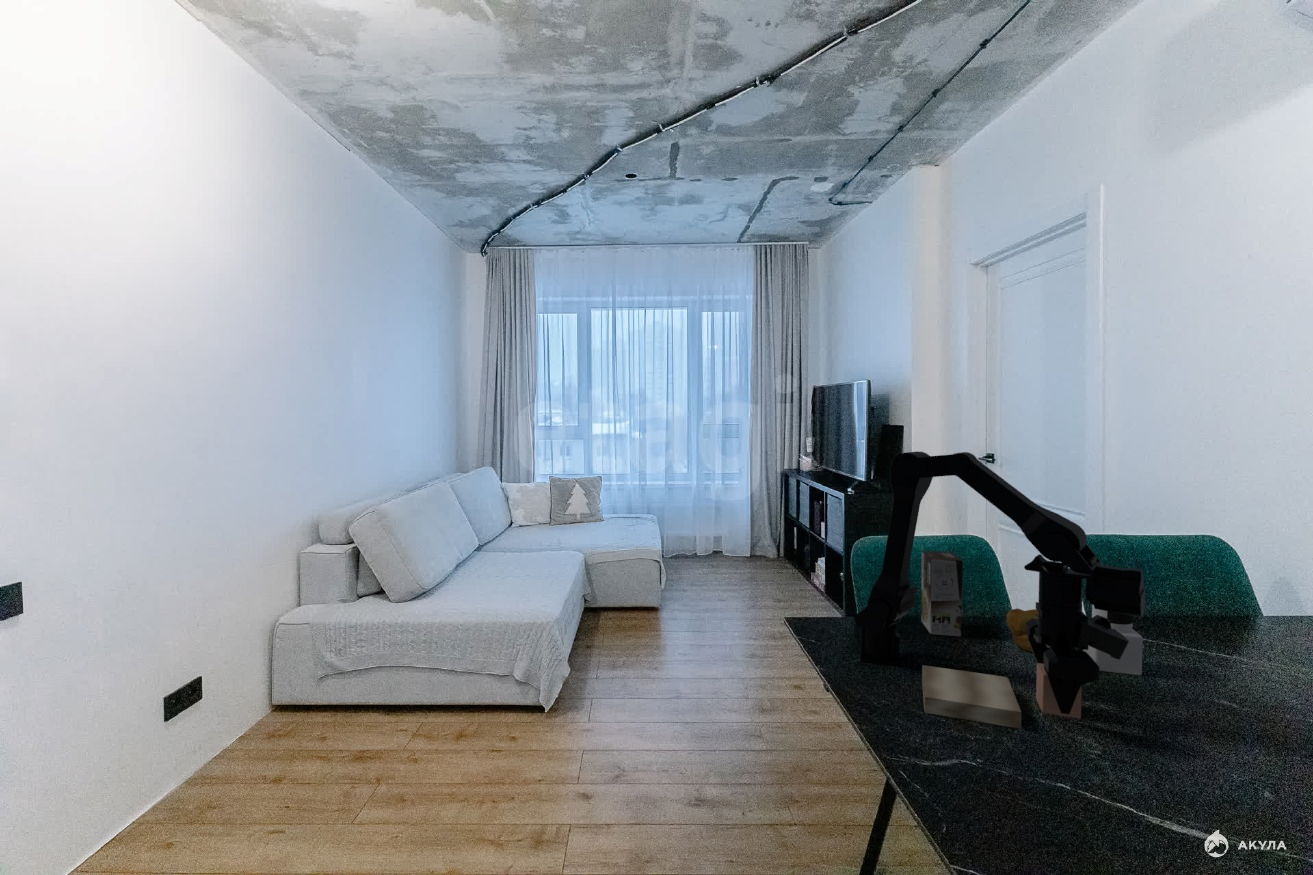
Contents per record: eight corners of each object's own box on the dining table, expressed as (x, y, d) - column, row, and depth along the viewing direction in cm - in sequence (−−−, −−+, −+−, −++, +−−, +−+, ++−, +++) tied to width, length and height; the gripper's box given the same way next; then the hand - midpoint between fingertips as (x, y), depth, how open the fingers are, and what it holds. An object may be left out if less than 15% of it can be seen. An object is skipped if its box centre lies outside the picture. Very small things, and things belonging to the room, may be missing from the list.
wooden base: (924, 712, 94) (924, 696, 94) (922, 679, 106) (922, 665, 106) (1021, 728, 89) (1021, 711, 89) (1006, 691, 101) (1007, 677, 101)
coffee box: (962, 637, 127) (964, 560, 126) (929, 634, 128) (930, 558, 128) (950, 622, 136) (951, 550, 135) (920, 620, 137) (921, 549, 137)
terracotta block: (1042, 712, 94) (1043, 674, 94) (1036, 699, 99) (1036, 662, 99) (1080, 718, 93) (1081, 680, 92) (1072, 704, 97) (1073, 667, 97)
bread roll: (1024, 632, 130) (1025, 595, 129) (1078, 645, 122) (1079, 606, 122) (1002, 647, 121) (1003, 607, 121) (1058, 662, 114) (1059, 620, 114)
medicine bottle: (1126, 661, 114) (1127, 597, 114) (1142, 676, 108) (1144, 609, 107) (1081, 656, 117) (1083, 594, 116) (1094, 670, 110) (1096, 605, 110)
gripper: (1145, 628, 84) (1142, 739, 84) (1103, 591, 101) (1101, 684, 101) (1050, 617, 88) (1048, 724, 88) (1026, 584, 105) (1024, 673, 106)
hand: (1057, 700), depth 96 cm, fingers open, 9 cm apart
